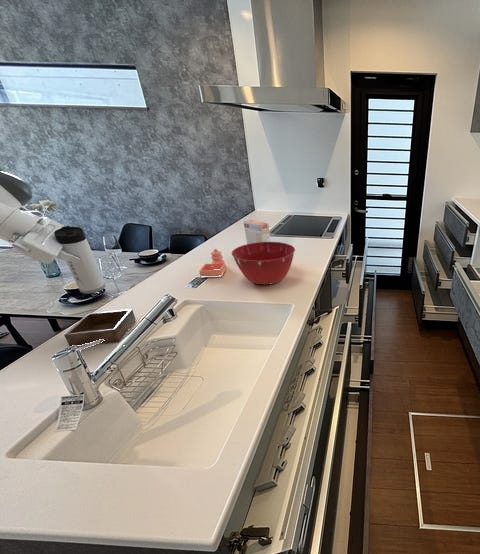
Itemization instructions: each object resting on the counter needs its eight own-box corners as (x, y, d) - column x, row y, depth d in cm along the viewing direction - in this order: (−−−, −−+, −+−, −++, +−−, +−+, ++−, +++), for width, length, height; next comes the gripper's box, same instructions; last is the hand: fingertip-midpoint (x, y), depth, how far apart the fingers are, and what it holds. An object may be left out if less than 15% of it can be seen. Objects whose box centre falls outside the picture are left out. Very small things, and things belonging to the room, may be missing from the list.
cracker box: (272, 258, 176) (268, 222, 168) (264, 261, 172) (260, 225, 163) (256, 253, 183) (251, 219, 174) (248, 256, 178) (243, 221, 169)
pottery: (221, 277, 150) (218, 259, 146) (200, 278, 148) (196, 259, 144) (229, 264, 166) (226, 247, 162) (211, 265, 164) (207, 247, 160)
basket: (69, 347, 98) (64, 334, 96) (92, 325, 110) (87, 313, 107) (119, 342, 101) (114, 329, 99) (136, 320, 113) (132, 309, 111)
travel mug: (102, 281, 101) (79, 223, 91) (108, 289, 97) (84, 229, 87) (77, 288, 96) (50, 228, 87) (82, 296, 93) (54, 234, 83)
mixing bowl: (269, 264, 167) (265, 237, 161) (309, 276, 154) (307, 247, 148) (223, 282, 145) (218, 252, 138) (266, 298, 132) (262, 265, 126)
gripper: (13, 232, 74) (81, 262, 84) (39, 209, 89) (94, 236, 99) (-4, 251, 74) (66, 279, 84) (25, 225, 89) (81, 250, 99)
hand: (81, 255), depth 91 cm, fingers closed on travel mug, 6 cm apart
